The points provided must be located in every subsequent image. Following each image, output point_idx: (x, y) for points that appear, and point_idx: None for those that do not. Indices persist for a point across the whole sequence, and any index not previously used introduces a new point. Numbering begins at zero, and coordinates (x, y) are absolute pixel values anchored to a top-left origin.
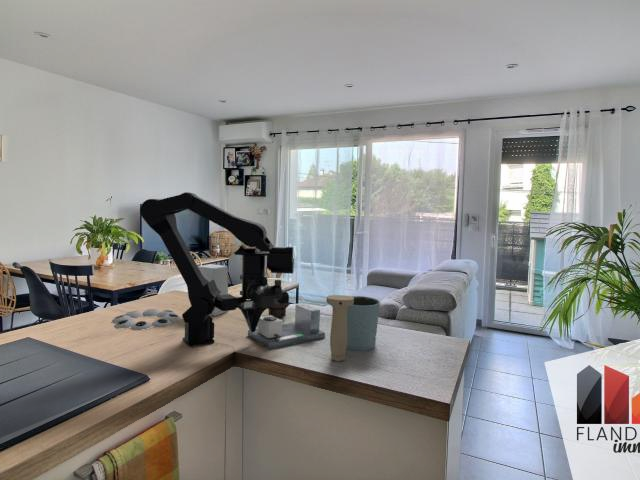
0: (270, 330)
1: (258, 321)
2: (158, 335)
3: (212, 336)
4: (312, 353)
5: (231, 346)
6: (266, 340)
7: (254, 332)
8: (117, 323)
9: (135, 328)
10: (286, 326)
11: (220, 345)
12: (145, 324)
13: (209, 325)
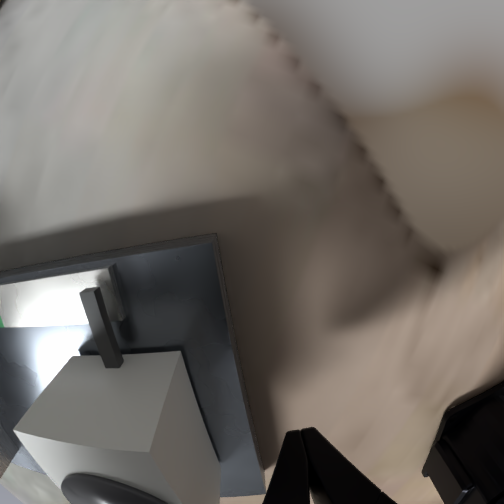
0: (146, 391)
1: (266, 502)
2: None
3: (445, 444)
4: (6, 85)
5: (412, 362)
6: (207, 321)
7: (241, 468)
8: None
9: None
10: None
11: (441, 383)
12: None
13: (487, 469)
